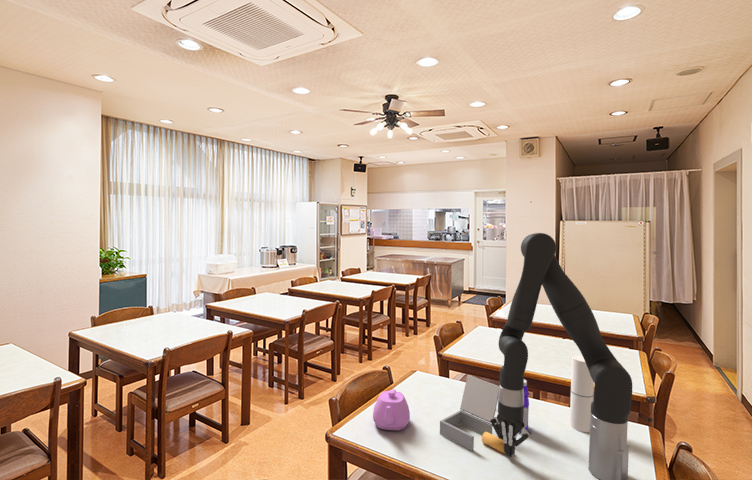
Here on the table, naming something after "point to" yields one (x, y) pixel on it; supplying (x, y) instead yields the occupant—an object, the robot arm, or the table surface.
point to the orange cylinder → (493, 441)
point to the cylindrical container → (580, 395)
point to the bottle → (525, 406)
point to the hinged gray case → (459, 435)
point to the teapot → (391, 411)
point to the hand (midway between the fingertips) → (509, 455)
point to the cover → (480, 398)
